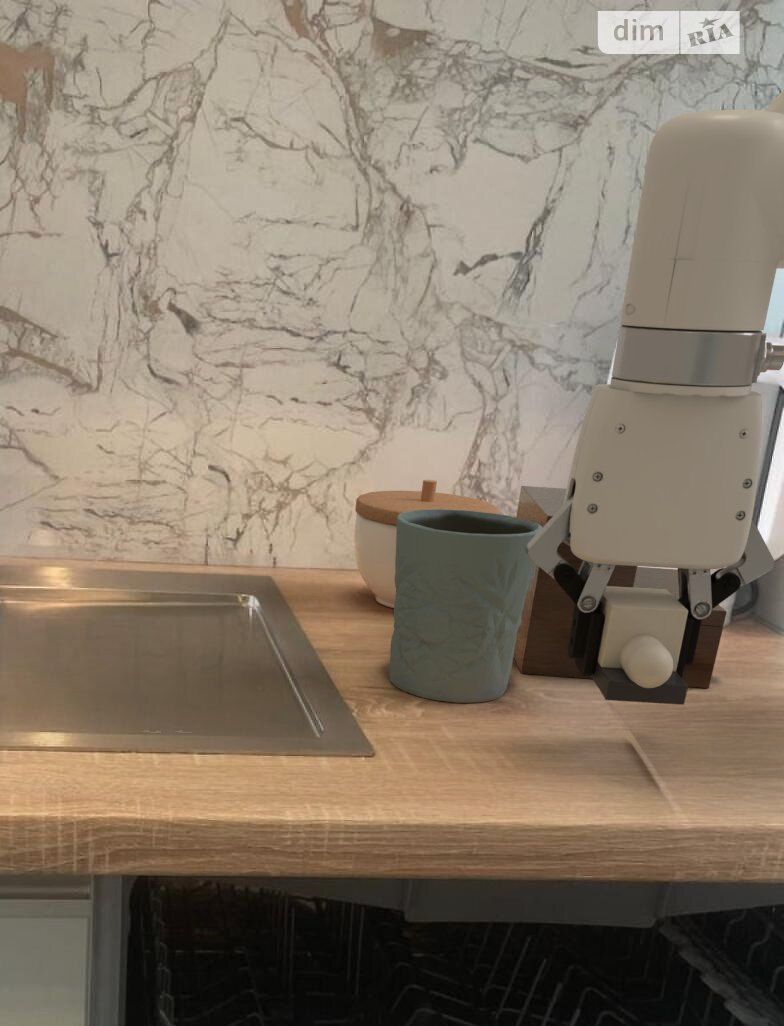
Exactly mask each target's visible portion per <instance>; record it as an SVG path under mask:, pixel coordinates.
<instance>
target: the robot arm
mask: <svg viewBox="0 0 784 1026" xmlns="http://www.w3.org/2000/svg"><path fill="white" fill-rule="evenodd" d="M777 95H778V96H776V98H775V99H774V100H773V101H772V102H771V103H770V104H769V105H768V106H767V107H766V108H765V109H764V110H760V109H713V110H712V109H711V110H703V111H695V112H688V113H684V114H679V115H676V116H674V117H671V118H670V119H668V120H667V121H665V122H664V123H663V124H661V126H660V127H659V128H658V129H657V131H656V132H655V133H654V136H653V137H652V140H651V143H650V146H649V150H648V154H647V158H646V163H645V170H644V175H643V183H642V187H641V188H642V189H641V194H640V202H639V207H638V211H637V217H636V218H637V219H636V225H635V232H634V237H633V243H632V249H631V255H630V262H629V268H628V274H627V279H626V285H625V290H624V291H625V292H624V298H623V305H622V310H621V316H620V322H619V325H620V326H619V329H618V335H617V341H616V347H615V352H614V359H613V366H612V371H611V378H610V383H599V384H595V386H594V388H593V391H592V393H591V396H590V398H589V402H588V404H587V407H586V411H585V414H584V417H583V420H582V423H581V427H580V432H579V434H578V438H577V441H576V446H575V450H574V454H573V457H572V461H571V466H570V471H569V476H568V481H567V485H566V488H565V489H566V494H565V498H564V503H563V506H562V507H561V508H560V509H559V510H558V511H557V513H556V514H555V515H554V516H553V517H552V518H551V519H550V520H549V521H548V522H547V523H546V524H545V525H544V527H543V528H542V529H541V530H540V531H539V532H538V533H537V534H536V535H535V536H534V537H533V538H532V539H531V541H530V542H529V543H528V544H527V545H526V548H525V550H526V553H527V555H528V556H529V558H530V559H531V560H532V561H533V562H534V563H536V564H537V565H538V566H539V567H540V568H541V569H543V570H544V571H545V572H546V573H547V574H549V575H550V576H551V577H552V578H553V579H555V580H556V581H557V583H558V584H559V585H560V586H561V587H562V589H563V590H564V591H565V592H566V593H567V595H568V596H569V597H570V598H571V599H572V601H573V602H574V603H575V608H574V614H573V620H572V626H571V632H570V638H569V644H568V656H569V657H570V658H574V659H575V665H576V666H577V668H578V670H579V671H580V673H581V675H582V676H592V674H593V675H594V673H595V669H596V663H597V660H598V655H599V649H600V643H601V638H602V632H603V626H604V620H605V616H604V614H603V613H602V612H601V611H600V608H601V601H600V600H601V597H602V595H603V593H604V591H605V588H606V586H607V584H608V581H609V579H610V577H611V574H612V572H613V570H614V568H615V565H626V566H637V567H649V568H663V569H677V570H678V583H679V599H678V601H679V602H680V603H681V604H682V605H683V606H684V607H685V608H686V609H687V610H688V615H687V620H686V625H685V629H684V634H683V639H682V644H681V649H680V654H679V659H678V664H677V669H676V672H677V673H678V675H679V676H680V677H681V678H682V676H683V671H684V666H685V665H691V664H692V662H693V659H694V655H695V650H696V645H697V640H698V636H699V631H700V626H701V621H702V619H704V618H706V617H708V616H709V615H710V614H711V612H712V609H713V608H715V607H716V606H717V605H720V604H721V603H723V602H724V601H725V600H727V599H728V598H730V597H731V596H732V595H733V594H735V593H737V592H738V590H739V589H740V588H741V587H743V586H745V585H748V584H750V583H751V582H753V581H755V580H757V579H759V578H761V577H762V576H764V575H766V574H768V573H770V572H771V571H772V570H773V569H774V567H775V564H776V563H775V562H776V561H775V559H774V558H773V555H772V553H771V551H770V549H769V547H768V545H767V543H766V541H765V540H764V537H763V536H762V534H761V531H760V530H759V528H758V526H757V524H756V522H755V521H754V519H753V514H754V507H755V503H756V495H757V486H758V479H759V470H760V459H761V448H762V447H761V446H762V445H761V444H762V427H763V403H762V401H763V399H762V394H761V392H760V393H759V392H757V391H753V390H752V389H753V384H757V382H758V378H759V376H760V375H761V373H766V372H767V371H780V370H782V367H783V366H784V345H781V344H773V343H772V342H771V341H770V342H769V341H768V340H767V333H765V332H763V331H765V330H764V329H765V325H766V322H767V317H768V311H769V307H770V302H771V297H772V292H773V287H774V284H775V279H776V273H777V269H779V270H780V269H782V270H783V269H784V89H783V90H782V91H781V92H780V93H779V94H777ZM767 341H768V342H767ZM562 542H564V543H565V544H567V545H568V546H570V547H571V551H572V553H573V554H574V555H575V556H577V557H578V558H580V559H582V560H583V562H582V564H581V567H580V569H579V572H578V573H577V572H576V571H575V570H574V569H573V567H572V566H571V565H570V564H569V563H568V562H567V561H566V560H565V559H563V558H562V557H561V556H560V555H559V554H558V553H557V549H558V546H559V545H560V544H561V543H562ZM711 570H715V571H714V572H712V571H711ZM711 572H712V573H711Z"/></svg>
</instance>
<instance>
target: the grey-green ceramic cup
mask: <svg viewBox="0 0 784 1026" xmlns="http://www.w3.org/2000/svg"><path fill="white" fill-rule="evenodd" d="M541 529H542V526H540V525H539V524H537V523H535V522H532V521H529V520H525V519H521V518H516V516H511V515H506V514H500V513H498V514H493V513H485V512H476V511H467V510H449V509H429V510H414V511H408V512H404V513H401V514H399V515H398V516H397V532H396V558H395V577H394V580H395V587H396V596H395V604H394V608H393V619H394V622H393V632H392V635H391V641H390V650H389V651H390V654H389V655H390V656H389V681H390V683H392V685H393V686H395V687H396V688H398V689H399V690H401V691H403V692H406V693H408V694H410V695H414V696H416V697H420V698H422V699H427V700H433V701H439V702H446V703H447V702H448V703H458V704H474V703H475V704H476V703H483V702H490V701H494V700H496V699H499V698H501V697H502V696H503V695H505V692H506V690H507V688H508V684H509V680H510V676H511V672H512V667H513V662H514V648H515V642H516V636H517V631H518V629H519V627H520V624H521V614H522V610H523V607H524V602H525V597H526V593H527V590H528V587H529V583H530V580H531V577H532V574H533V570H534V566H535V563H534V562H533V561H532V560H531V559H530V558H529V556H528V555H527V553H526V550H525V548H526V545H527V544H528V543H529V542H530V541H531V539H532V538H533V537H534V536H535V535H536V534H537V533H538V532H539V531H540V530H541Z"/></svg>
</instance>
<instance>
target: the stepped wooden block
mask: <svg viewBox="0 0 784 1026" xmlns="http://www.w3.org/2000/svg"><path fill="white" fill-rule="evenodd" d="M566 489H567V488H559V487H545V486H531V485H530V486H529V485H521V486H520V491H519V497H518V503H517V510H516V516H515V517H516V518H521V519H525V520H529V521H532V522H535V523H537V524H539V525H540V526H542V528H543V527H544V525H545V524H546V523H547V522H548V521H549V520H550V519H551V518H552V517H553V516H554V515H555V514H556V513H557V511H558V510H559V509H560V508H561V507H562V506H563V503H564V498H565V494H566ZM557 553H558V554H559V555H560V556H561V557H562V558H563V559H565V560H566V561H567V562H568V563H569V564H570V565H571V566H572V567H573V569H574V570H575V571H576V572H577V573H578V572H579V569H580V567H581V564H582V562H583V560H582V559H580V558H578V557H577V556H575V555H574V554H573V553H572V551H571V547H570V546H568V545H567V544H565V543H564V542H562V543H561V544H560V545H559V546H558V549H557ZM607 586H613V587H632V588H651V589H666V590H668V591H669V592H670V593H671V594H672V595H673V596H674V597H675V598H676V599H677V600H678V599H679V583H678V568H664V567H644V566H626V565H615V568H614V570H613V572H612V574H611V577H610V579H609V581H608V584H607ZM574 608H575V603H574V602H573V601H572V599H571V598H570V597H569V596H568V595H567V593H566V592H565V591H564V590H563V589H562V587H561V586H560V585H559V584H558V583H557V581H556V580H555V579H553V578H552V577H551V576H550V575H549V574H547V573H546V572H545V571H544V570H543V569H541V568H540V567H539V566H538V565H537V564H536V563H535V566H534V570H533V574H532V577H531V580H530V583H529V587H528V590H527V593H526V597H525V602H524V607H523V610H522V614H521V624H520V627H519V629H518V631H517V636H516V642H515V648H514V656H513V660H514V661H515V663H516V665H517V668H518V669H519V672H520V674H523V675H525V674H526V675H536V676H549V677H562V678H572V679H573V678H574V679H587V680H593V678H592V677H591V676H582V675H581V673H580V671H579V670H578V668H577V666H576V665H575V659H574V658H570V657H569V656H568V644H569V638H570V632H571V626H572V620H573V614H574ZM727 613H728V612H727V610H726V609H724V608H723V607H722V606H721V605H720V604H719V605H717V606H716V607H715V608H713V609H712V612H711V614H710V615H709V616H708V617H706V618H704V619H702V621H701V626H700V631H699V636H698V640H697V645H696V650H695V655H694V659H693V662H692V664H691V665H685V666H684V671H683V676H682V679H683V681H684V682H685V683H686V684H687V685H688V688H697V689H709V688H710V685H711V680H712V677H713V673H714V667H715V663H716V660H717V655H718V651H719V647H720V643H721V638H722V635H723V634H722V633H723V630H724V625H725V620H726V617H727Z"/></svg>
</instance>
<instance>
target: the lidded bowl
mask: <svg viewBox="0 0 784 1026" xmlns="http://www.w3.org/2000/svg"><path fill="white" fill-rule="evenodd" d="M437 484H438V481H437V480H435V479H423V480H422V487H421V490H379V491H371V492H366V493H363V494H360V495H358V497H357V498H356V500H355V512H356V514H355V515H356V516H355V525H354V554H355V561H356V565H357V569H358V572H359V574H360V576H361V578H362V581H364V583H365V584H366V586H367V588H368V589H369V590H370V591H371V592H372V593H373V594H374V596H375V601H376V602H377V603H379V604H380V605H382V606H386V607H388V608H391V609H394V604H395V596H396V587H395V580H394V577H395V558H396V532H397V516H398V515H399V514H401V513H404V512H408V511H414V510H429V509H449V510H467V511H476V512H485V513H493V514H500V512H499V511H500V510H499V509H498V507H497V506H496V505H494V504H492V503H490V502H487V501H484V500H481V499H477V498H473V497H468V496H463V495H459V494H450V493H443V492H436V490H437Z"/></svg>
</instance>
